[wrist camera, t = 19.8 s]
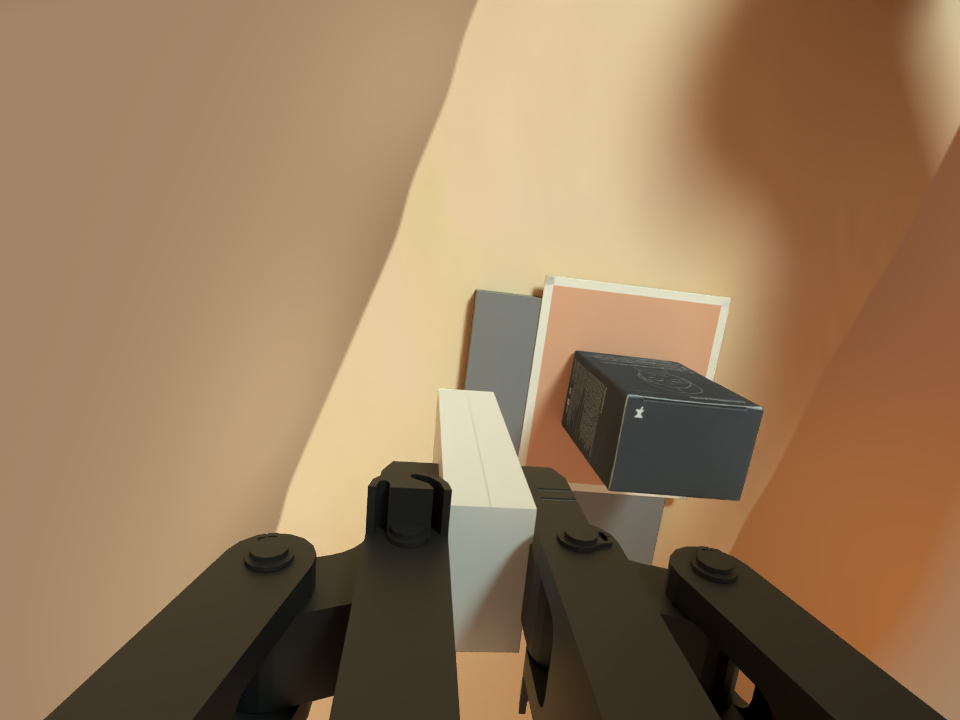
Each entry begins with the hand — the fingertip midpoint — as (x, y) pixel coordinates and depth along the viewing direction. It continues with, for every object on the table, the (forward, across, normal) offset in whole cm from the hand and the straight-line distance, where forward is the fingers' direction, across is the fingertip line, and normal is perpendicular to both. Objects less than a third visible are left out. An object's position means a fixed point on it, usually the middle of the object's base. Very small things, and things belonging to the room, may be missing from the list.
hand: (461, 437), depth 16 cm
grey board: (+24, +11, -10) cm, 28 cm away
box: (+24, +13, -5) cm, 27 cm away
